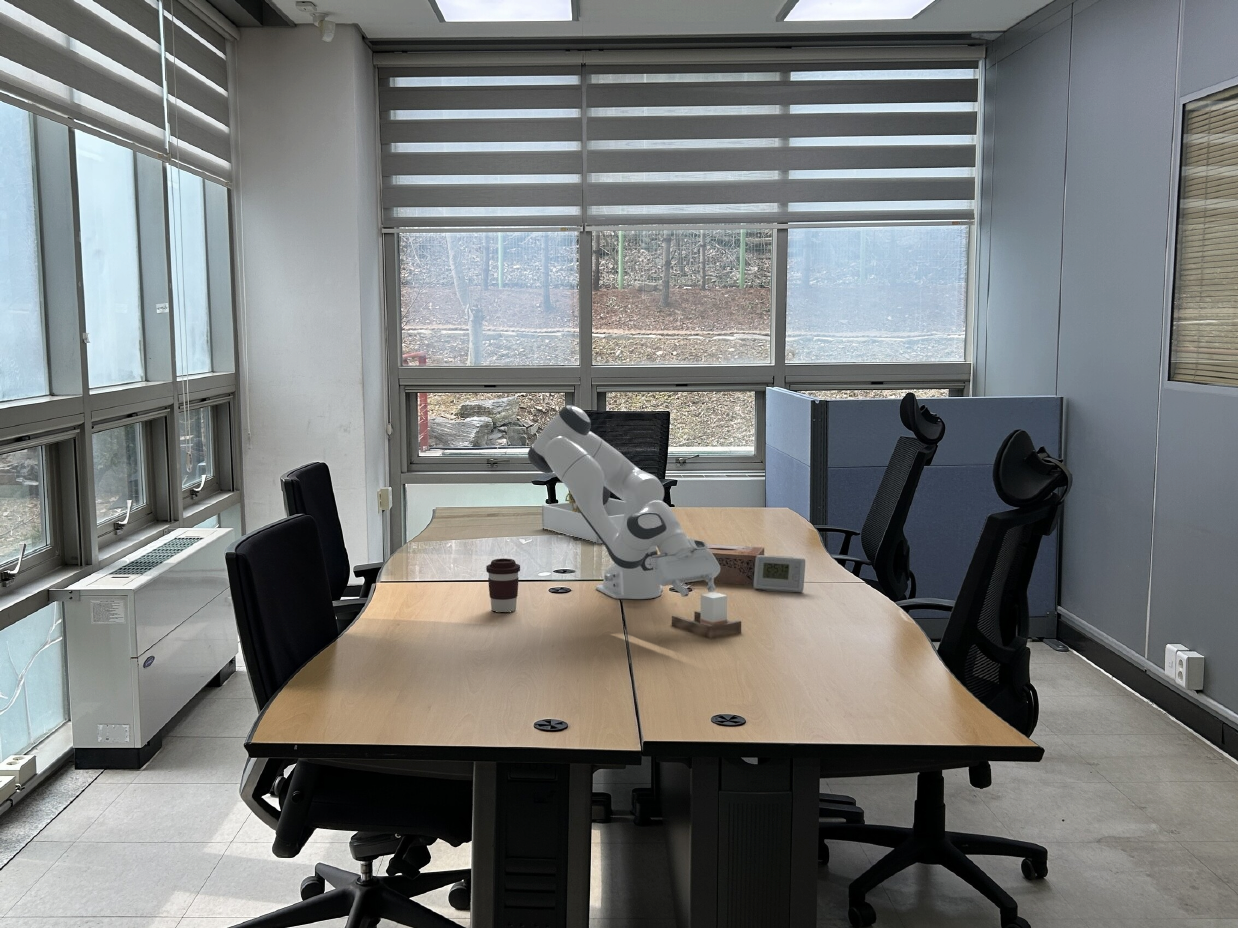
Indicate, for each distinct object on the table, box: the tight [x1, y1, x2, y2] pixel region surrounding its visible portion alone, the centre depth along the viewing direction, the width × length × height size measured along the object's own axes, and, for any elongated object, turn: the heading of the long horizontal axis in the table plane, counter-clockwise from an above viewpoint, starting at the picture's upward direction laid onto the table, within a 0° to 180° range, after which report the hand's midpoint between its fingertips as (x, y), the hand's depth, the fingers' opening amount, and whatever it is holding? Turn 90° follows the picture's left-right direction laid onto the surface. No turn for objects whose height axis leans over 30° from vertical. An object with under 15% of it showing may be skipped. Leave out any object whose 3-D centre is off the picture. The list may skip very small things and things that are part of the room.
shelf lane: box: [669, 610, 742, 640], centre depth 295 cm, size 17×11×4 cm, turn 37°
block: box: [700, 591, 728, 626], centre depth 292 cm, size 6×5×10 cm
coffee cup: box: [485, 557, 521, 613], centre depth 319 cm, size 10×10×15 cm
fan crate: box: [541, 497, 626, 544], centre depth 447 cm, size 40×34×10 cm
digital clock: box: [753, 554, 806, 593], centre depth 345 cm, size 16×9×11 cm, turn 60°
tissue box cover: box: [697, 543, 765, 586], centre depth 363 cm, size 26×14×10 cm, turn 73°
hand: (699, 592), depth 294 cm, fingers open, 8 cm apart
